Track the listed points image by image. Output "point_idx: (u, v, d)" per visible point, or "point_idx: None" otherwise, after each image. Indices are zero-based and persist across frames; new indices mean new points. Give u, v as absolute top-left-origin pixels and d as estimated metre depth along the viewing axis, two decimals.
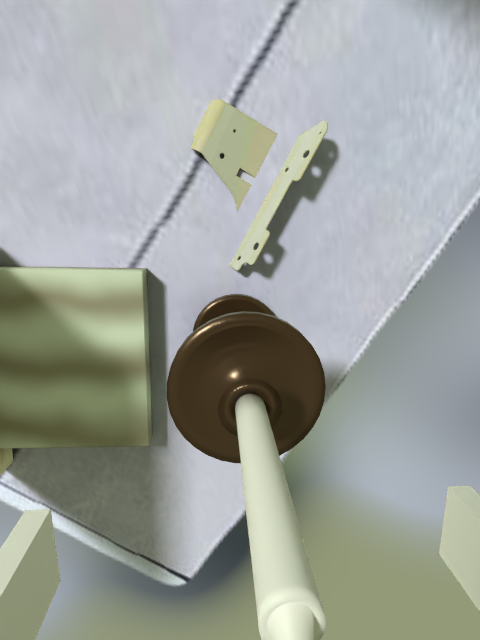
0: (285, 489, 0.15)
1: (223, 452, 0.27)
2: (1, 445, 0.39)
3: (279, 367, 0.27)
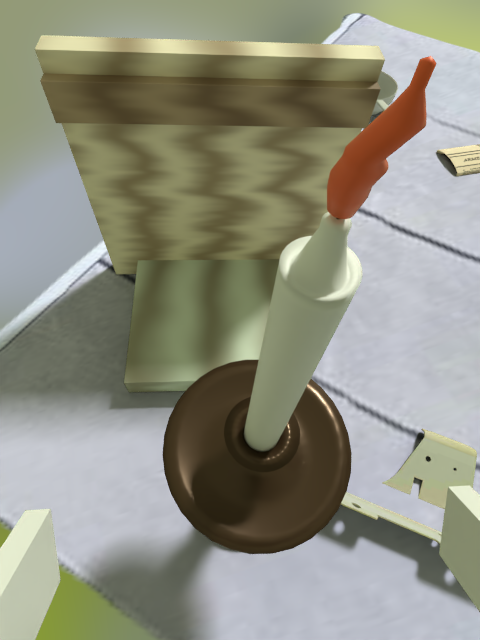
0: (309, 378, 0.12)
1: (177, 421, 0.23)
2: (140, 263, 0.44)
3: (287, 487, 0.22)
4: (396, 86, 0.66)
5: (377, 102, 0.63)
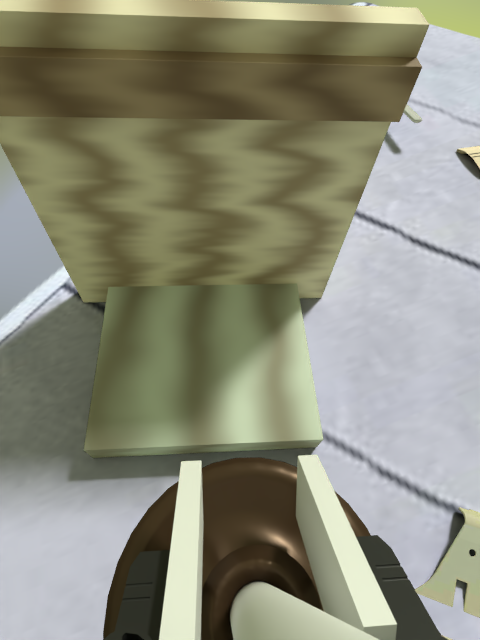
0: None
1: None
2: (111, 290, 0.36)
3: None
4: None
5: None
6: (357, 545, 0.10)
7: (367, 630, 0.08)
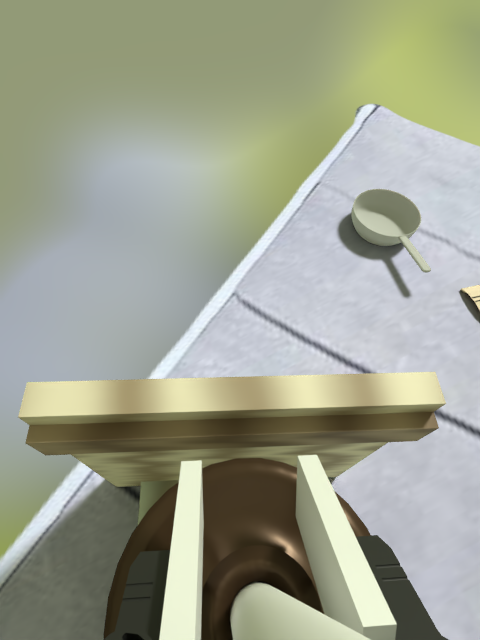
0: None
1: None
2: (143, 486, 0.39)
3: None
4: (419, 215, 0.61)
5: (400, 239, 0.58)
6: (357, 545, 0.10)
7: (367, 630, 0.08)
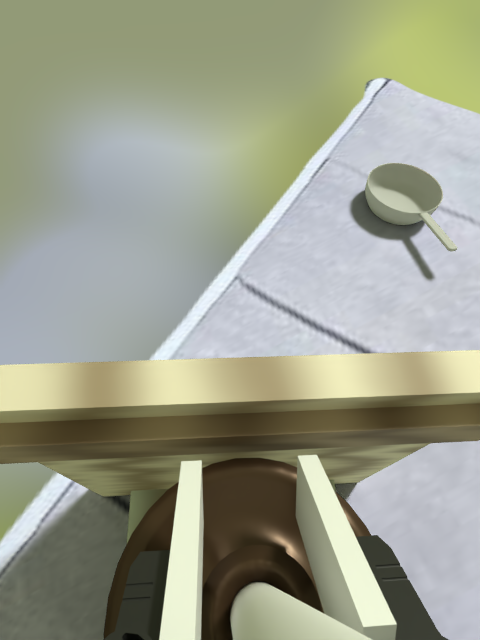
0: None
1: None
2: (134, 495, 0.33)
3: None
4: (440, 190, 0.56)
5: (421, 216, 0.53)
6: (357, 545, 0.10)
7: (367, 630, 0.08)
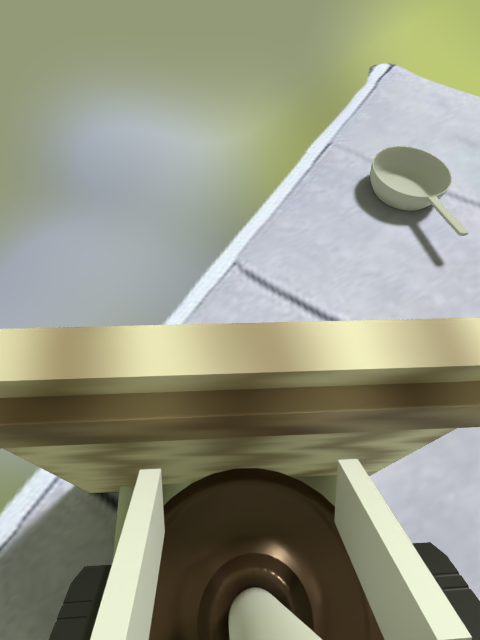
0: None
1: None
2: (123, 492, 0.31)
3: None
4: (449, 174, 0.53)
5: (430, 200, 0.50)
6: (416, 553, 0.10)
7: None
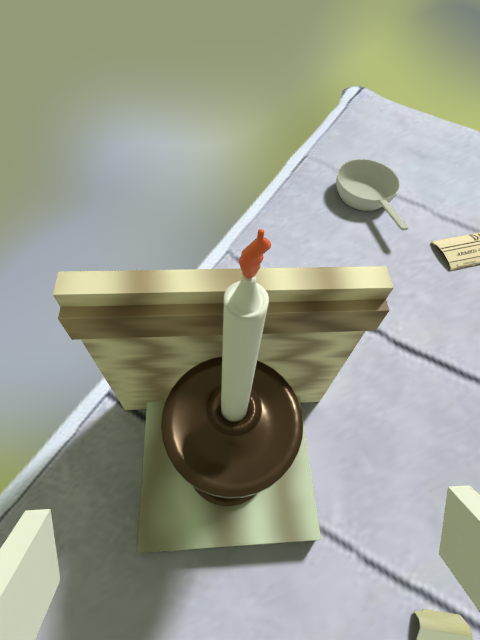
0: (254, 363, 0.20)
1: (172, 403, 0.30)
2: (149, 405, 0.44)
3: (255, 450, 0.29)
4: (397, 181, 0.67)
5: (381, 202, 0.64)
6: None
7: None
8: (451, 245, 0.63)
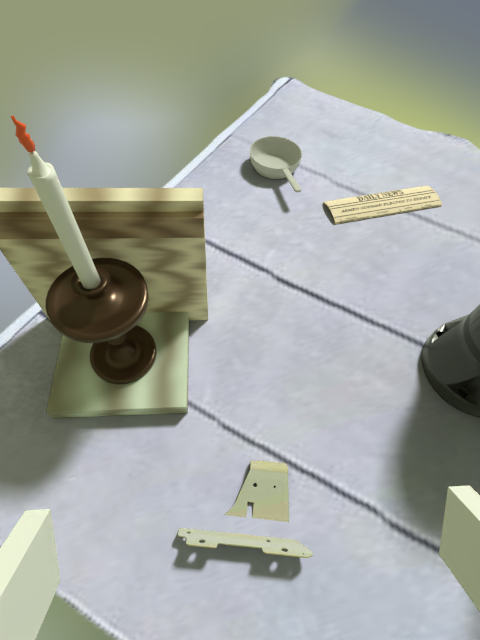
0: (69, 224, 0.33)
1: (57, 285, 0.43)
2: None
3: (110, 315, 0.42)
4: (301, 154, 0.80)
5: (283, 170, 0.77)
6: None
7: None
8: (338, 204, 0.76)
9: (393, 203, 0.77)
